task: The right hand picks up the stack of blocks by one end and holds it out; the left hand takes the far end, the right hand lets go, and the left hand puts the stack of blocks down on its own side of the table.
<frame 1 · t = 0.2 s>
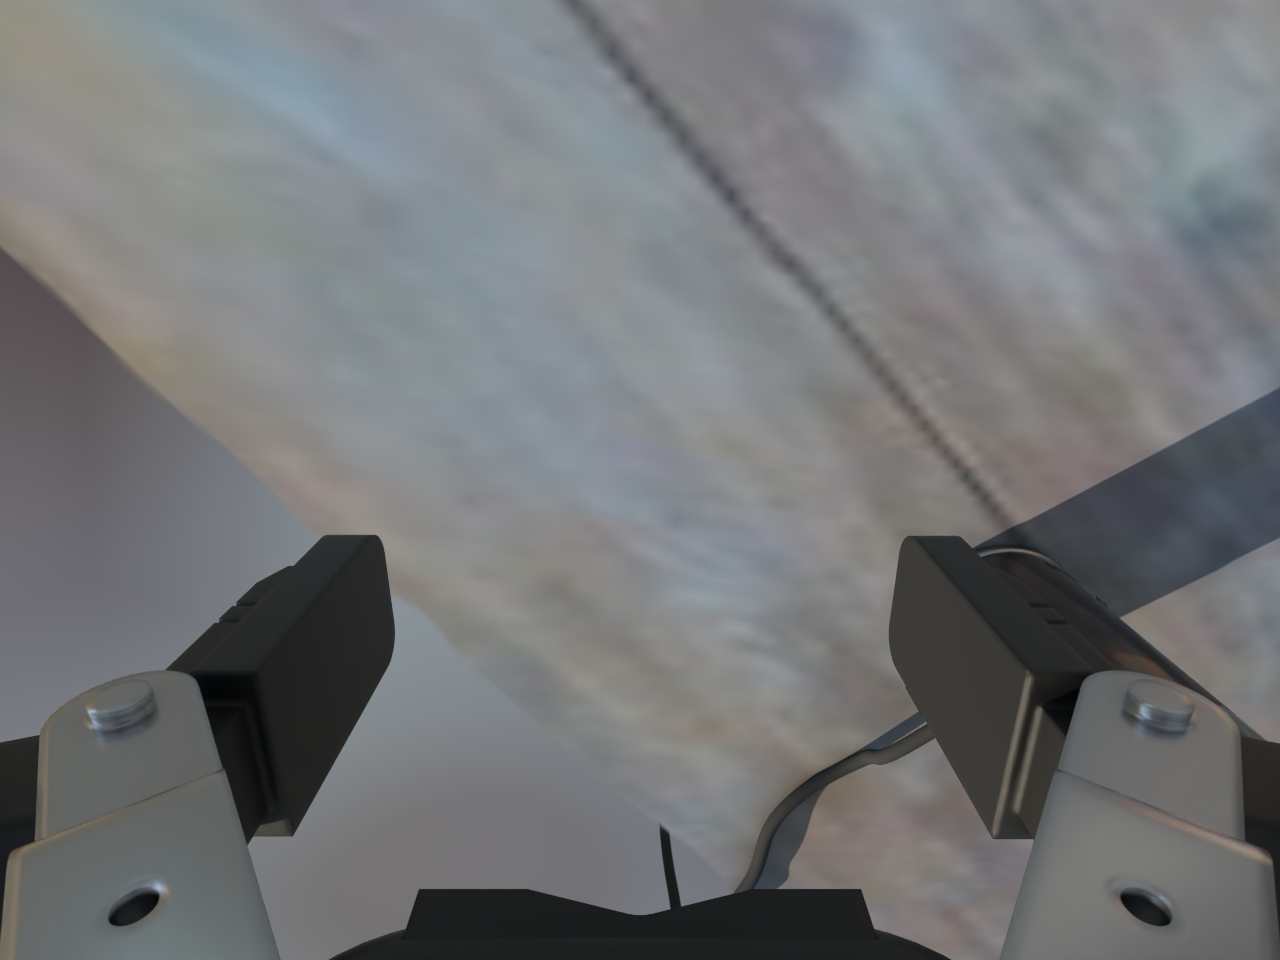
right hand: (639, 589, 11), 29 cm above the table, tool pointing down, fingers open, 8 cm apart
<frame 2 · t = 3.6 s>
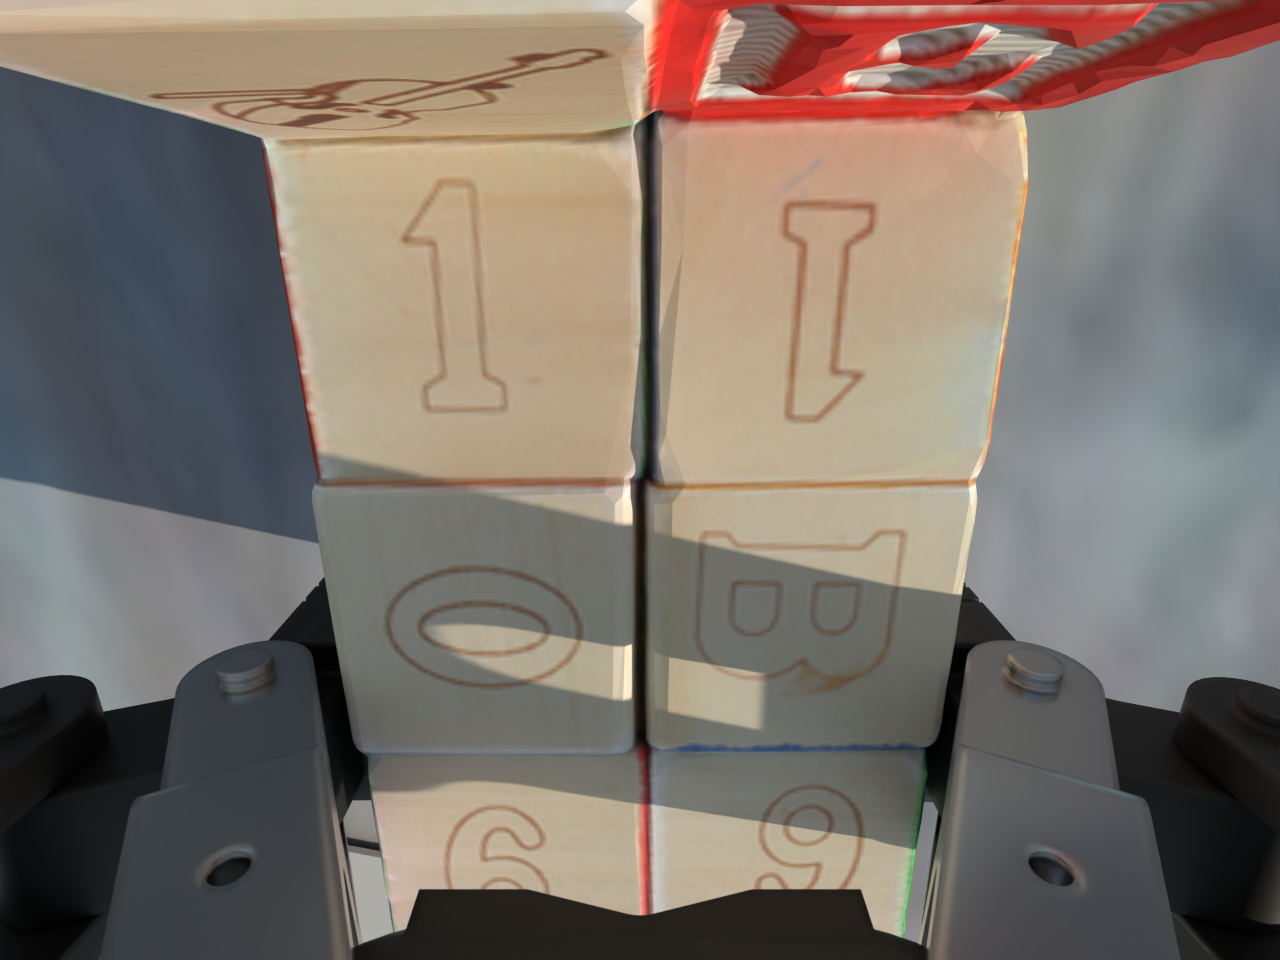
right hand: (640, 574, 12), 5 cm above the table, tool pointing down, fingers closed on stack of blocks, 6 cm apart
stack of blocks: (639, 91, 14), on the table, touching right hand
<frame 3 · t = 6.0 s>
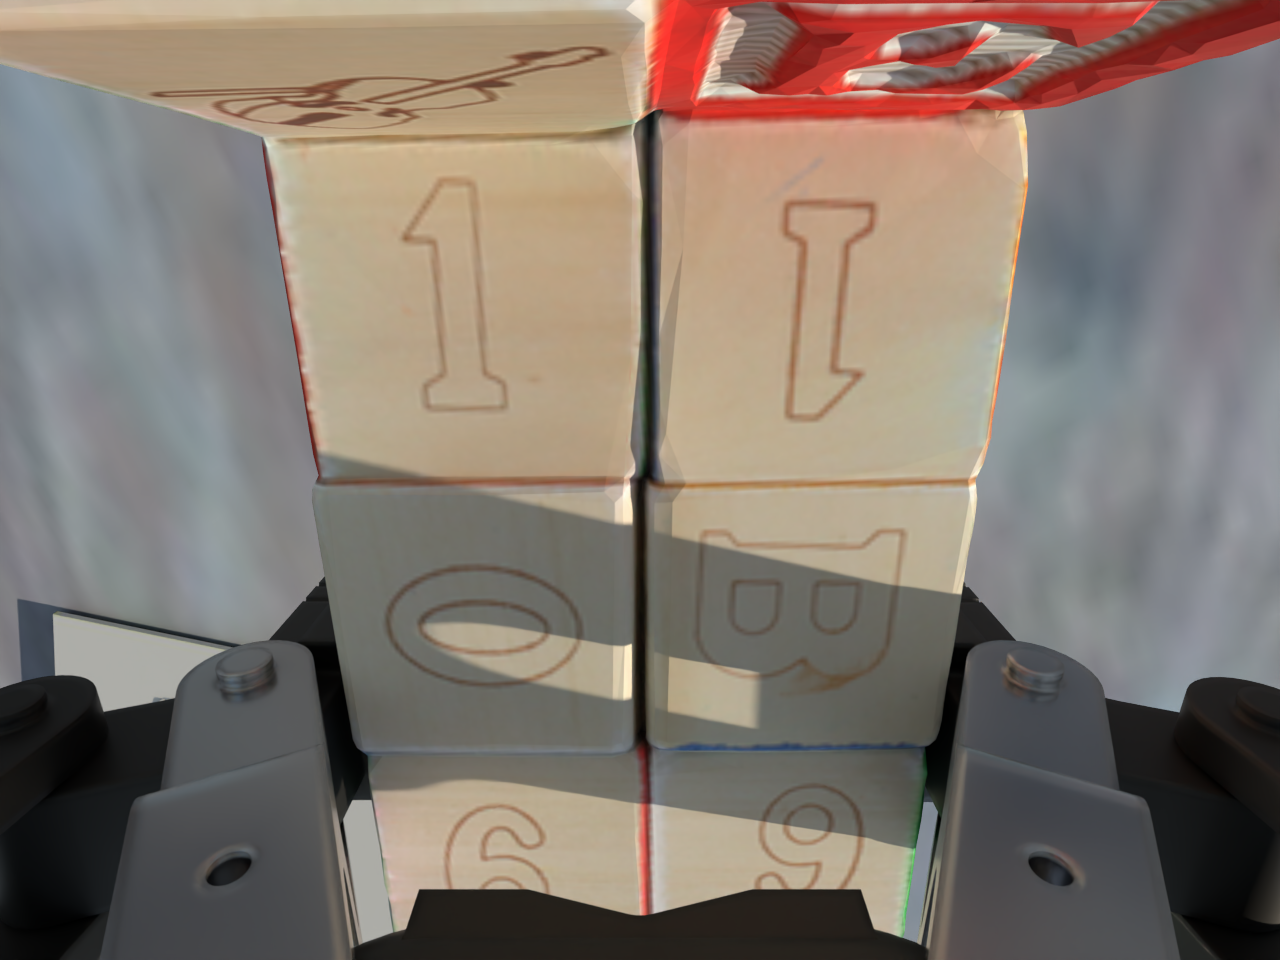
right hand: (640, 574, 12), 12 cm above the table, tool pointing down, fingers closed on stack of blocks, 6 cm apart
invitation card: (257, 865, 29), on the table
stack of blocks: (639, 91, 14), point 7 cm above the table, touching right hand
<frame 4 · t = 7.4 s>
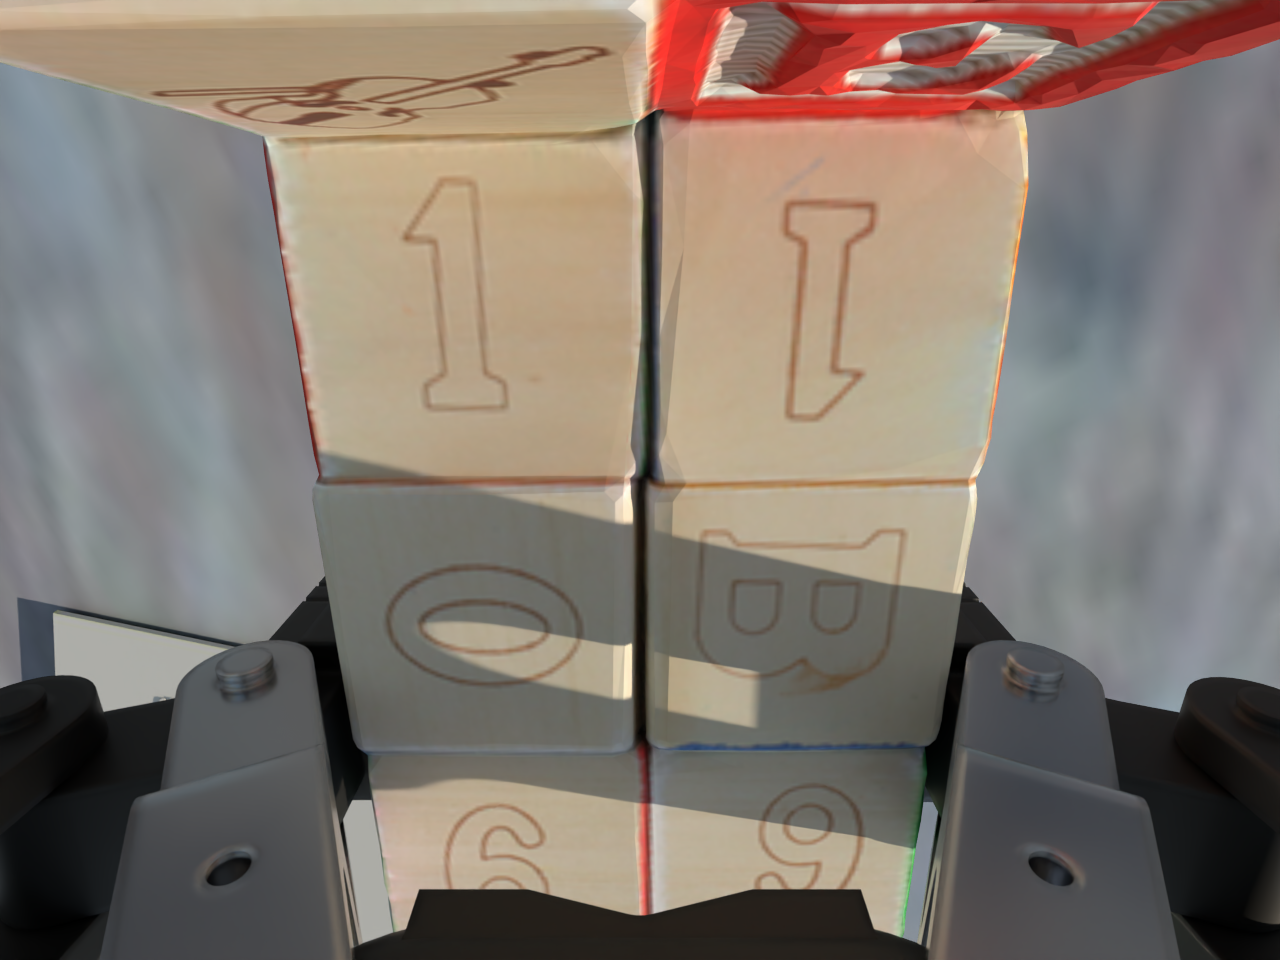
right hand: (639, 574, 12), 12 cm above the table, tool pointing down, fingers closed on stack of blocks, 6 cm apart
invitation card: (257, 864, 29), on the table
stack of blocks: (639, 91, 14), point 7 cm above the table, touching right hand, left hand
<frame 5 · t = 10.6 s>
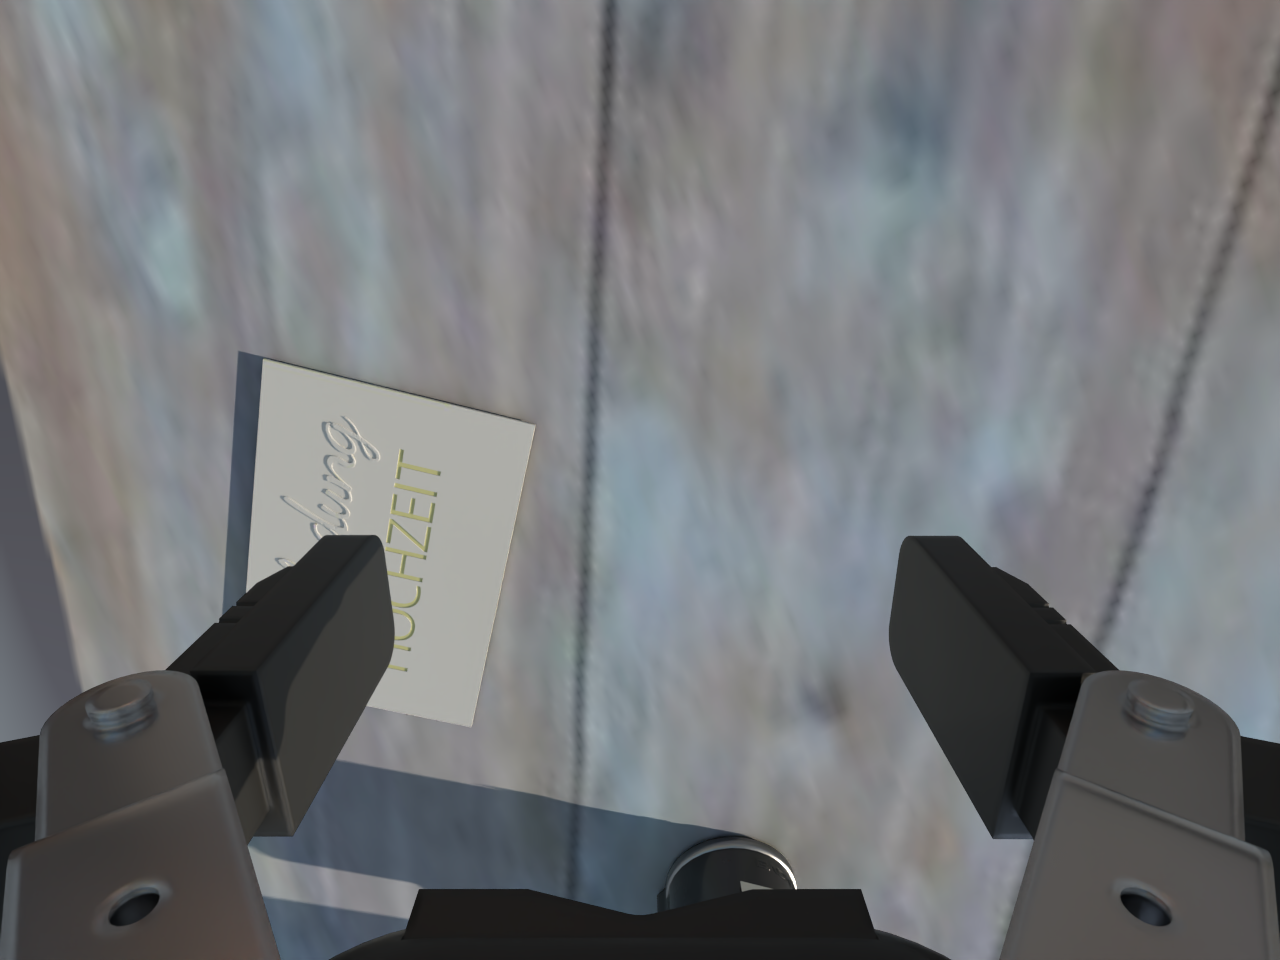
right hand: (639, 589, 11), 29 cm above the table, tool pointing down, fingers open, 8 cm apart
invitation card: (379, 558, 43), on the table
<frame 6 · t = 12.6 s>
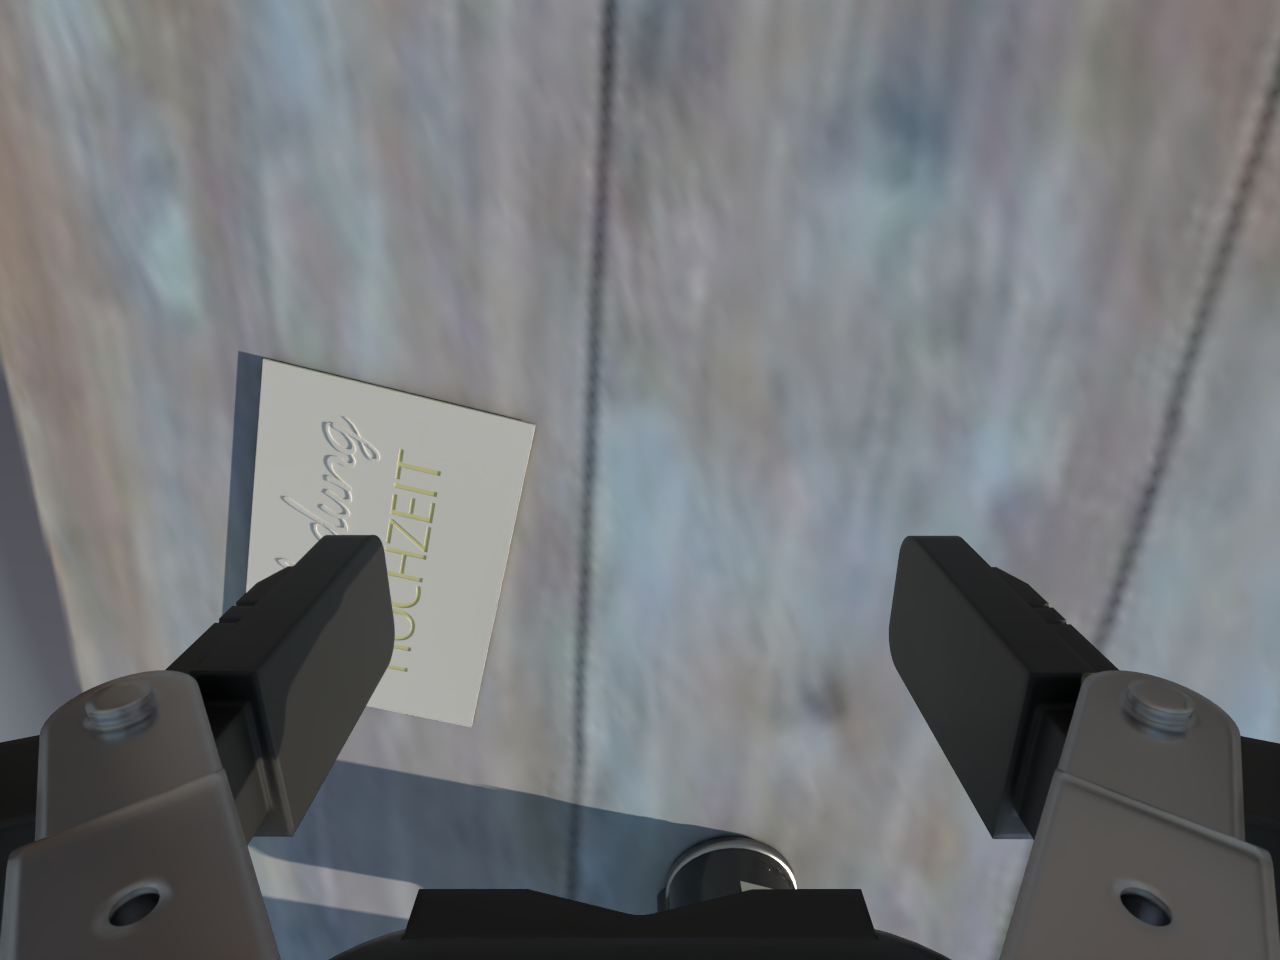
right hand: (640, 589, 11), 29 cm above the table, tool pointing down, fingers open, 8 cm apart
invitation card: (379, 558, 43), on the table
when the left hand's fingers open (10 cm above the table, at t = 14.1 s): stack of blocks drops 1 cm, on the table.
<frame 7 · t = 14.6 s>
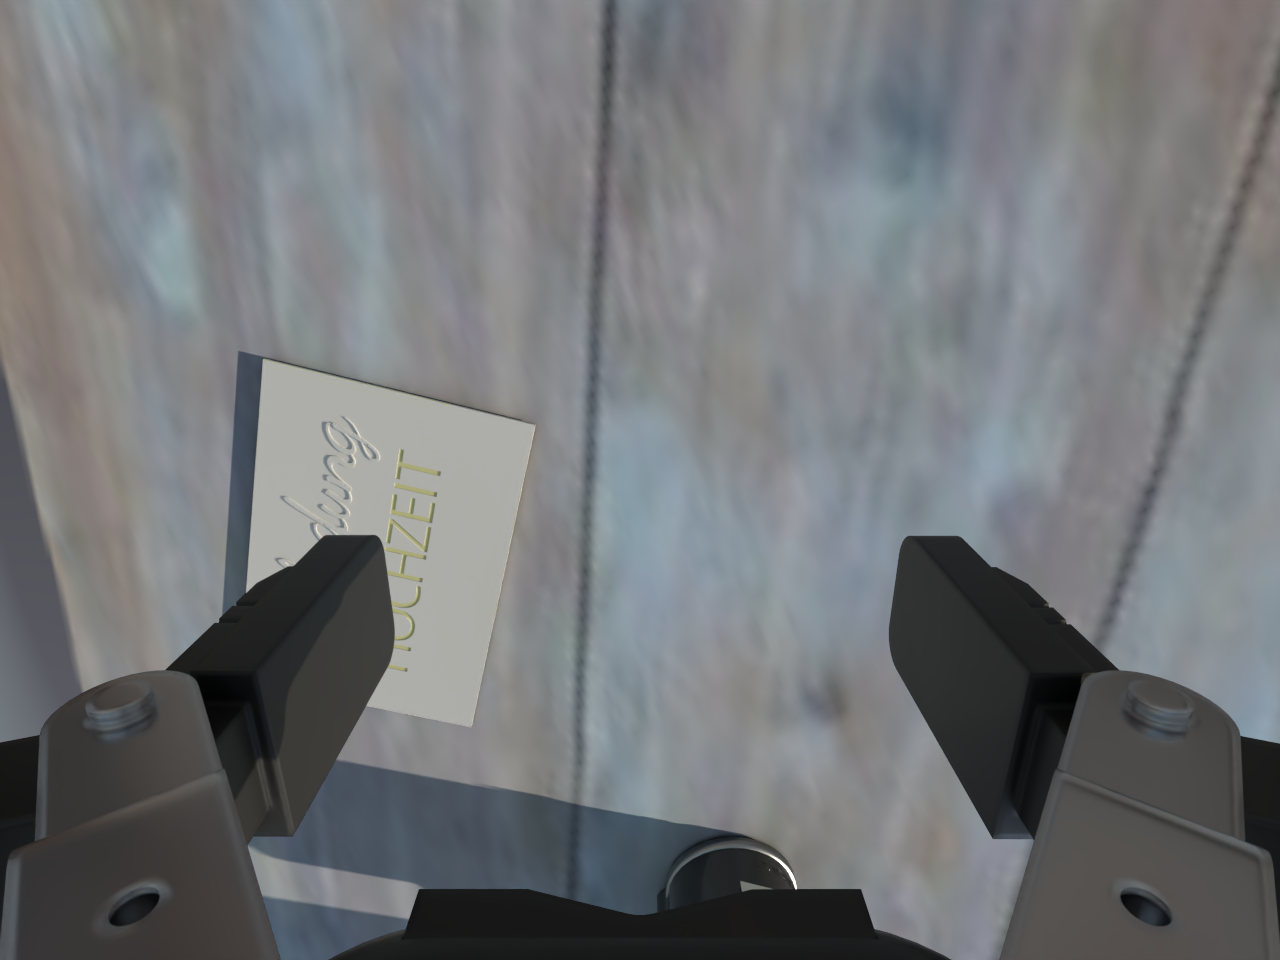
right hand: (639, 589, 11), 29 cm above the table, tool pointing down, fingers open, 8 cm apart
invitation card: (379, 558, 43), on the table
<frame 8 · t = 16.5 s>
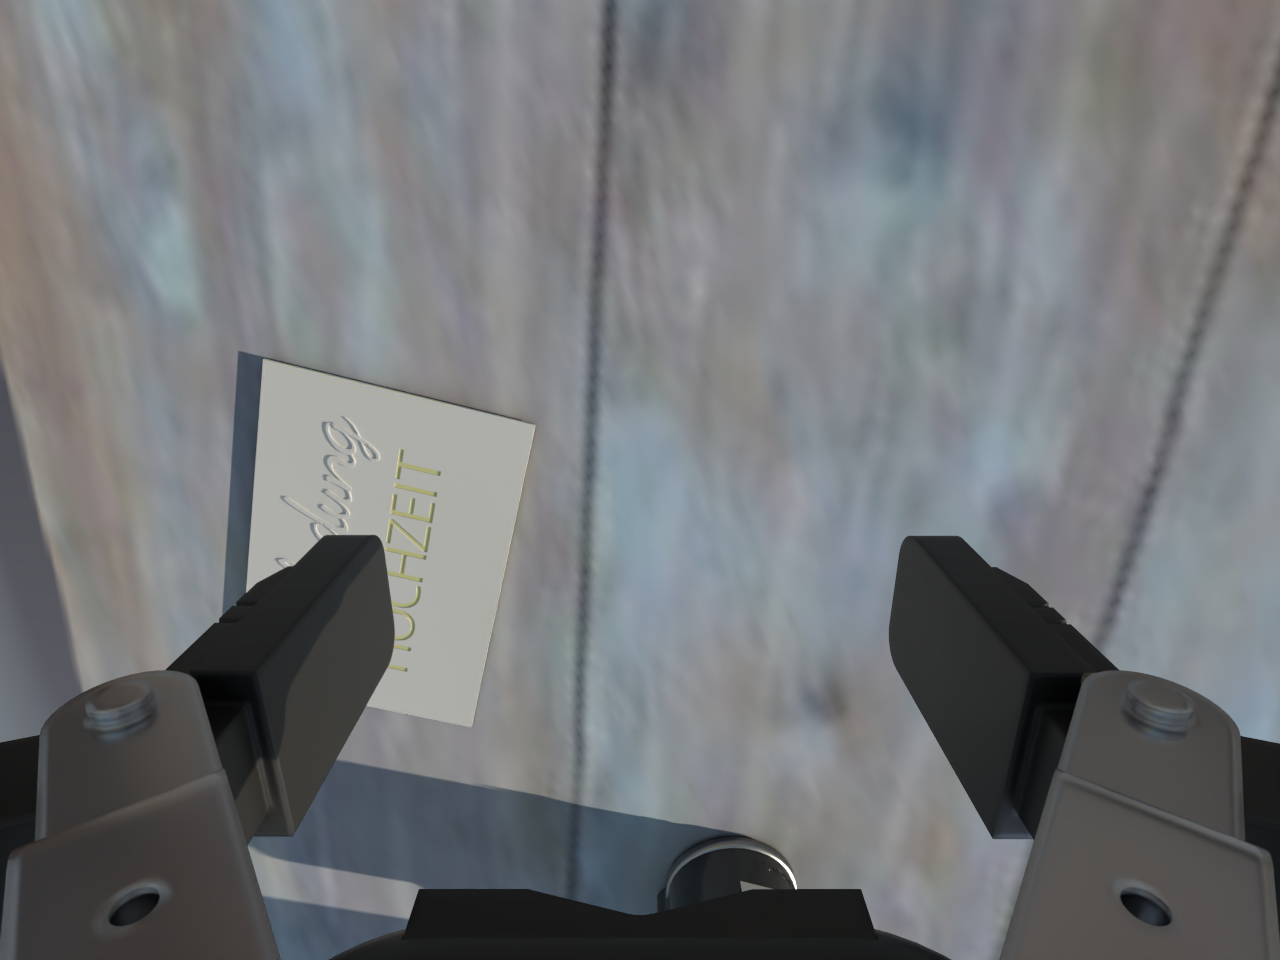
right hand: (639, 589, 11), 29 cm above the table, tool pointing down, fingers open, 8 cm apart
invitation card: (379, 558, 43), on the table
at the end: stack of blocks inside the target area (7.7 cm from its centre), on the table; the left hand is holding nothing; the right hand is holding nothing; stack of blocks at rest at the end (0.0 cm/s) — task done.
